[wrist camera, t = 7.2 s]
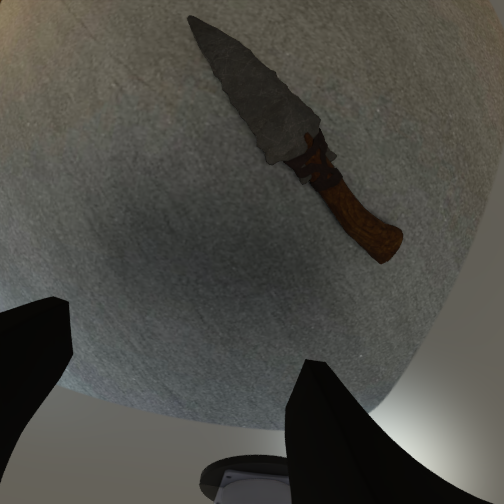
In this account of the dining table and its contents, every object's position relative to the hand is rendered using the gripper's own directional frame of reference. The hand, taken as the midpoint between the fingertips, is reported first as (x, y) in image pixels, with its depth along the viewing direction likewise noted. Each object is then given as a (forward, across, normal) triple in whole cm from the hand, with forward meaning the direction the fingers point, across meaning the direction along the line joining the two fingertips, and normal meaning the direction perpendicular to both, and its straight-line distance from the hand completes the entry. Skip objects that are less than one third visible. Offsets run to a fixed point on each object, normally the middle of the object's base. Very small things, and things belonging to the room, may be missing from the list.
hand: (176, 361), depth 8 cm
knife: (+9, -2, -8) cm, 12 cm away
